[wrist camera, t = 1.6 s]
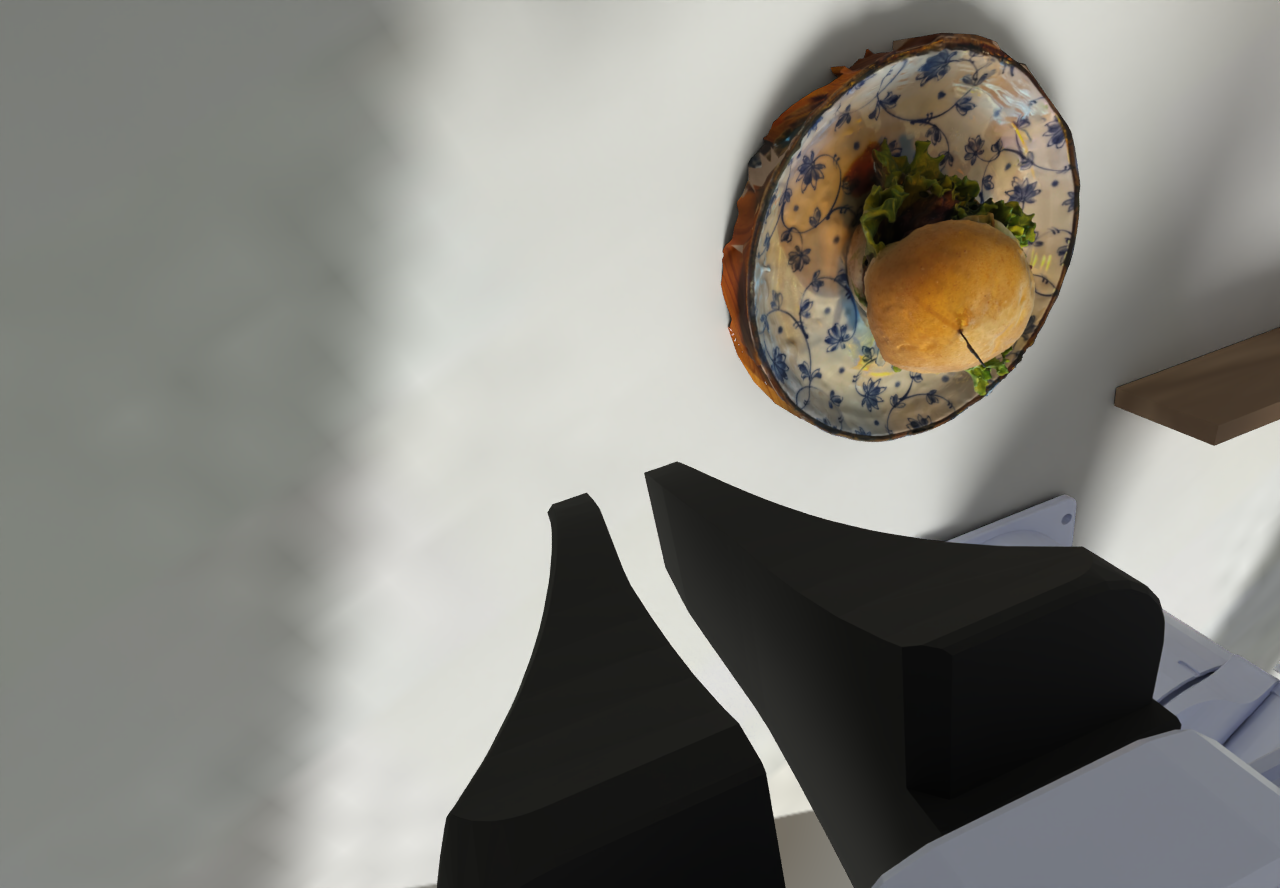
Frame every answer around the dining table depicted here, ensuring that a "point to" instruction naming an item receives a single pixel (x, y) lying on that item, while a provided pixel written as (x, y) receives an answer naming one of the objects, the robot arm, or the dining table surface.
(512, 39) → the dining table surface
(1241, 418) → the box
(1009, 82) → the burger
